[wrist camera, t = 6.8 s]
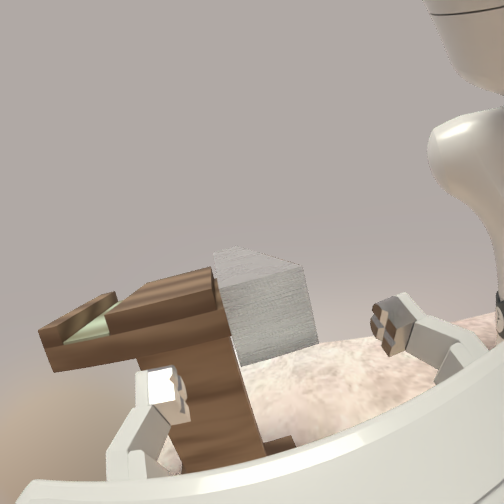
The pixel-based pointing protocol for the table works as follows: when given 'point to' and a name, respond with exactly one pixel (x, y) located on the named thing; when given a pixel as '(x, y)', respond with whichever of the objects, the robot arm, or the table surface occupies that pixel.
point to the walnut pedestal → (172, 361)
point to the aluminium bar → (264, 304)
